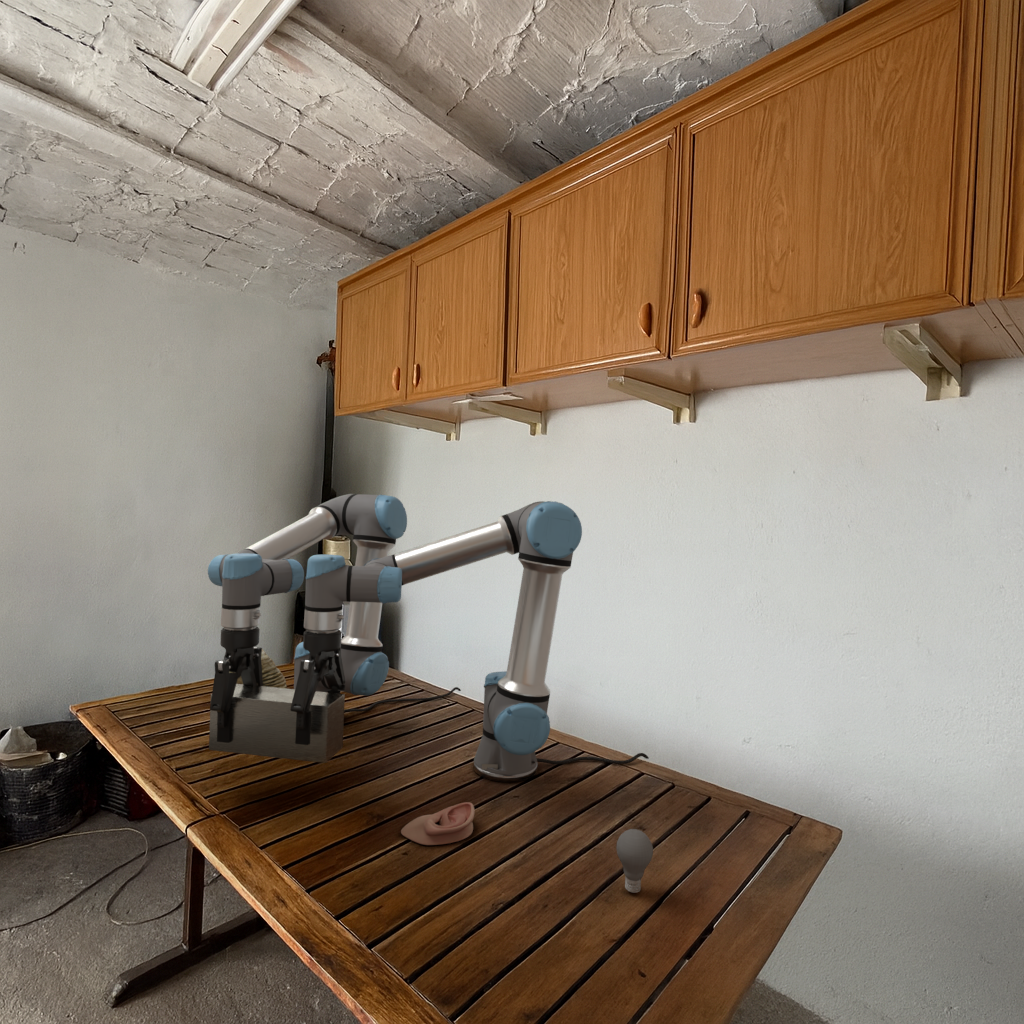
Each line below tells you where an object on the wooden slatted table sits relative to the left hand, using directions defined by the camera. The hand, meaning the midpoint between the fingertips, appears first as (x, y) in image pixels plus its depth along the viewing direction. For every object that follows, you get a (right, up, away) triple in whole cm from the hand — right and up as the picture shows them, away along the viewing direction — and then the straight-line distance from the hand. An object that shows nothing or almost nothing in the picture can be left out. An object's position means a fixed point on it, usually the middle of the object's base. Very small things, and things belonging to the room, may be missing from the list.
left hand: (236, 733), depth 134 cm
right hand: (+18, +1, -3) cm, 18 cm away
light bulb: (+79, -16, -28) cm, 85 cm away
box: (+9, -3, -1) cm, 9 cm away
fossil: (-22, -10, +64) cm, 68 cm away
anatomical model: (+44, -15, -12) cm, 48 cm away
